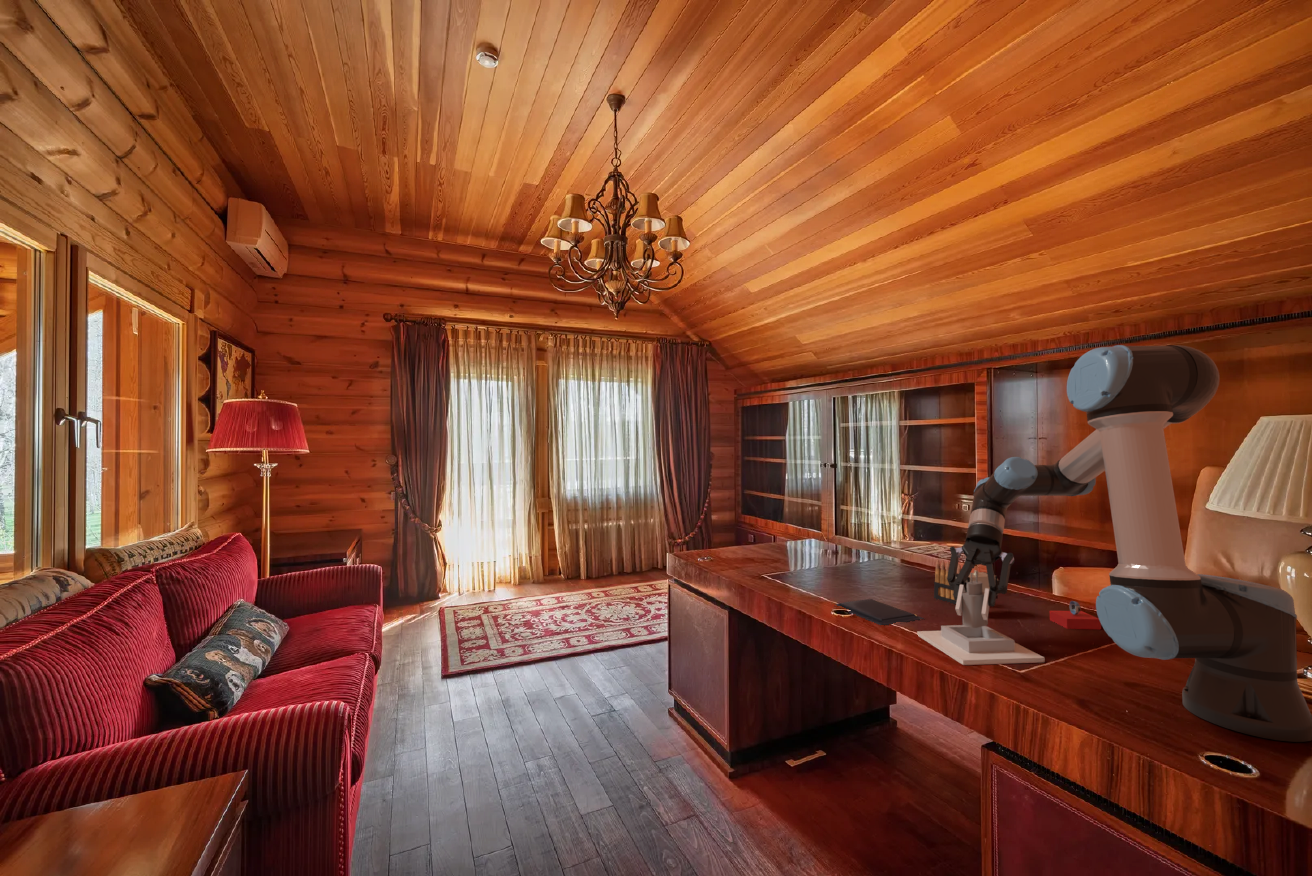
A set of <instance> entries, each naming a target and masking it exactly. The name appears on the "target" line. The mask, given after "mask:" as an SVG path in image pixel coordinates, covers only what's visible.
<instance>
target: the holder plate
mask: <svg viewBox="0 0 1312 876" xmlns="http://www.w3.org/2000/svg"><path fill="white" fill-rule="evenodd" d="M916 632H917V633H916V635H918V637H919V638H921V639H922V640H924V641H925V642H927V643H928V644H929V645H931V646H933V647H934V648H936V649H938V650H939V651H941V652H943V653H944V654H945V655H947V656H949V657H950V658H952V659H953V660H954V661H956V662H958V663H959V664H961V665H963V666H973V665H974V666H975V665H998V664H999V665H1003V664H1032V663H1033V664H1034V663H1037V664H1038V663H1045V662H1046V661H1045V660H1046V659H1045V656H1042V655H1040V654H1038V653H1036V652H1034V651H1033V650H1030V649H1029V648H1026V647H1024V646H1022V645H1020V644H1019V643H1016V642H1015V639H1013V638H1011V637H1009V636H1008V635H1005V634H1003V633H1002V632H1000V631H997V630H995V629H993V628H991V627H989V626H988V625H986V626H982V627H978V628H971V627H968V626H965V625H963V624H958V625H957V624H953V625H940V630H922V631H921V630H919V631H916Z"/></svg>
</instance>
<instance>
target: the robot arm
mask: <svg viewBox="0 0 1312 876" xmlns="http://www.w3.org/2000/svg"><path fill="white" fill-rule="evenodd" d="M1219 386H1220V372H1219V369H1218V367H1217V365H1216V363H1215V361H1214V359H1212V358H1211V357H1210V356H1209V355H1207V353H1204V352H1203V351H1202V350H1200V349H1196V348H1194V347H1191V346H1186V345H1182V344H1181V345H1180V344H1177V345H1175V344H1174V345H1173V344H1171V345H1170V344H1169V345H1124V344H1123V345H1122V344H1120V345H1119V344H1117V345H1113V346H1101V347H1096V348H1093V349H1091V350H1089V351H1086V352H1085V353H1084V354H1082V355H1081V356H1080V357H1079V358H1078V359H1077V360H1076V361H1075V362H1074V366H1073V367H1072V368H1071V369H1070V371H1069V374H1068V377H1067V381H1066V395H1067V398H1068V401H1069V403H1070V404H1072V405H1073V408H1075V409H1076V410H1079V411H1081V412H1085V414H1086V420H1087V424H1088V425H1089V426H1090V427H1092V428H1094V429H1095V430H1093V432H1091V433H1090V434H1089V435H1087V436H1086V437H1085V438H1084V439H1083V440H1081V442H1079V443H1078V444H1077V445H1075V446H1074V448H1072V449H1071V450H1070V451H1068V452H1067V453H1066V454H1064V456H1062V457H1061V458H1060V459H1059V460H1058V461H1056V462H1055V463H1053V464H1034V463H1032V462H1031V461H1030V460H1029V459H1026V458H1022V457H1021V456H1011V457H1008V458H1006V459H1005V460H1004V461H1003V462H1002V463H1001V464H1000V465H998V466H997V468H996V469H995V470H994V472H993V473H992V474H991V475H990V476H989V477H985V478H981V479H980V480H979V481H977V483H976V484H975V485H976V486H975V489H974V490H973V499H972V504H971V511H970V515H969V521H968V525H967V529H966V530H967V531H966V535H965V541H964V543H963V545H962V546H961V547H956V546H950V547H949V550H950V558H949V559H950V560H949V563H950V565H949V570H948V575H947V580H948V583H949V585H950V586H954V592H953V596H954V599H955V600H957V602H956V605H955V612H956V615H957V616H960V617H961V616H962V593H964V592H966V591H965V588H964V584H965V582H966V580H967V579H968V577H969V575H970V573H972V571H973V569H974V568H975V567H976V565H978V566H979V565H980V566H985V568H986V573H987V575H988V581H989V587H990V589H988V588H985V593H984V600H983V606H982V612H981V614H982V617H983V620H987V619H989V611H990V607H995V605H996V601H997V599H996V595H997V594H998V595H999V594H1002V595H1006V594H1007V592H1008V585H1009V579H1010V572H1011V568H1012V566H1013V564H1014V563H1015V557H1014V553H1012V552H1008V553H1007V552H1004V551H1003V549H1002V543H1003V536H1004V535H1003V534H1004V529H1005V523H1006V516H1007V510H1008V507H1010V506H1011V505H1012V504H1013V503H1015V501H1016V500H1017V499H1019V497H1033V496H1034V497H1042V496H1048V497H1049V496H1051V497H1052V496H1053V497H1054V496H1056V497H1059V496H1061V497H1062V496H1063V497H1076V496H1085V495H1088V494H1090V493H1091V492H1092V491H1093V490H1094V487H1095V486H1096V481H1097V477H1098V476H1099V475H1101V474H1102V473H1104V472H1105V478H1106V484H1107V493H1108V499H1109V500H1108V501H1109V505H1110V513H1111V521H1112V527H1113V535H1114V540H1115V541H1114V542H1115V547H1116V554H1117V562H1118V564H1117V566H1115V568H1113V569H1112V570H1111V571H1110V572H1108V575H1109V577H1108V578H1109V582H1110V583H1109V584H1110V585H1108V586H1105V587H1103V588H1102V589H1100V591H1099V593H1098V594H1099V595H1097V596H1096V600H1095V610H1096V614H1097V618H1099V620H1100V623H1101V628H1102V629H1103V630H1104V632H1105V633H1106V634H1107V636H1108V637H1109V638H1110V639H1112V641H1113V642H1114V643H1115V644H1116V645H1117V646H1118V647H1119V648H1120V649H1122V650H1123V651H1125V652H1126V653H1129V654H1131V655H1133V656H1135V657H1140V658H1146V659H1147V658H1149V659H1159V660H1163V661H1166V660H1167V661H1168V660H1172V659H1194V665H1193V666H1192V669H1191V671H1190V674H1189V675H1188V678H1187V680H1186V683H1185V686H1183V688H1182V693H1181V694H1182V695H1181V696H1182V697H1181V698H1182V705H1183V707H1184V708H1185V709H1186V710H1187V711H1189V712H1190V713H1191V714H1193V715H1194V716H1195V717H1198V718H1200V719H1203V720H1204V721H1206V722H1209V723H1211V724H1214V725H1217V726H1219V727H1222V728H1225V729H1228V730H1231V731H1233V732H1238V733H1241V734H1244V735H1247V736H1248V735H1249V736H1253V737H1258V738H1263V739H1268V740H1274V741H1282V742H1289V743H1291V742H1293V743H1295V742H1296V743H1304V742H1305V743H1306V742H1311V741H1312V713H1311V711H1310V709H1309V706H1308V704H1307V701H1306V699H1305V697H1304V694H1303V692H1302V690H1301V687H1300V685H1299V683H1298V682H1299V681H1298V660H1297V659H1298V656H1297V654H1298V653H1297V652H1298V651H1297V649H1298V648H1297V647H1298V646H1297V619H1298V615H1297V614H1296V610H1295V609H1296V608H1295V600H1294V598H1293V597H1292V595H1291V594H1290V593H1288V592H1287V591H1285V590H1284V589H1281V588H1279V587H1274V586H1271V585H1268V584H1267V585H1266V584H1262V583H1258V582H1253V581H1249V580H1248V581H1247V580H1243V579H1238V578H1230V577H1223V576H1217V575H1210V574H1202V573H1201V574H1200V573H1198V574H1197V573H1196V572H1194V571H1192V569H1190V568H1189V567H1188V566H1187V564H1186V560H1185V552H1184V548H1183V541H1182V535H1181V529H1180V522H1179V516H1178V510H1177V504H1176V497H1175V491H1174V486H1173V479H1172V474H1171V467H1170V461H1169V455H1168V449H1167V443H1166V437H1165V431H1164V430H1165V429H1166V428H1167V427H1168V426H1170V425H1171V424H1173V425H1174V424H1175V425H1176V424H1181V423H1182V424H1183V423H1184V422H1186V421H1187V420H1189V419H1191V418H1192V417H1193V416H1195V415H1196V414H1197V413H1199V412H1200V411H1202V409H1204V408H1205V407H1206V406H1207V404H1209V403H1210V401H1211V400H1212V399H1213V398H1214V397H1215V395H1216V393H1217V391H1218V388H1219ZM955 547H956V548H955ZM962 554H963V555H964V556H965V560H964V563H963V565H962V566H961V571H960V573H959V575H958V576H957V578H956V573H957V568H958V564H959V559H960V558H961V557H962ZM1000 559H1001V561H1002V565H1001V571H1000V576H999V581H1000V582H999V585H996V583H995V577H994V575H995V572H994V565H993V564H994V563H996V562H997V560H1000Z"/></svg>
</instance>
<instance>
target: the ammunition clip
mask: <svg viewBox="0 0 1312 876" xmlns="http://www.w3.org/2000/svg"><path fill="white" fill-rule="evenodd" d="M949 565H950V560H949V561H948V560H947V562H946V564H945V561H944V560H943V559H942V560H941V563H940V560H939V559H936V562H935V572H934V575H935V576H934V577H935V578H934V582H933V583H934V584H933V585H934V587H933V589H934V590H933V598H936V599H935V600H938V599H939V601H941V600H942V602H945V601H947V602H946V603H948V602H950V603H949V604H952V603H953V605H955V604H956V602H957V600H955V599H954V596H953V592H954V591H953V589H952V586H950V585H949V583H948V580H947V575H948V570H949ZM961 569H962V566H961V563H958V568H957V573H960V571H961Z"/></svg>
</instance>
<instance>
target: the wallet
mask: <svg viewBox="0 0 1312 876" xmlns="http://www.w3.org/2000/svg"><path fill="white" fill-rule="evenodd" d="M835 605H837V606H842V607H844V608H846V609H849V610H851V611H849V612H850V613H849V612H848V613H849V614H852V615H854V614H856V615H855V616H857V617H859V618H861V619H864V618H865V619H864V620H867V621H868V622H871V623H873V622H874V624H875V623H876V625H878V626H881V625H884V626H885V625H888V626H890V625H889V624H893V623H896V622H906V623H910V621H912V622H916V621H915V620H918V621H921V620H920V619H924V617H921V616H920V615H917V614H915V613H912V612H909V611H906V610H903V609H900V608H898V607H895V606H893V605H890V604H887V603H884V602H881V601H878V600H876V599H872V598H867V599H860V600H859V599H858V600H851V601H845V602H840V603H836V604H835ZM924 620H925V619H924ZM885 627H886V626H885Z"/></svg>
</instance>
